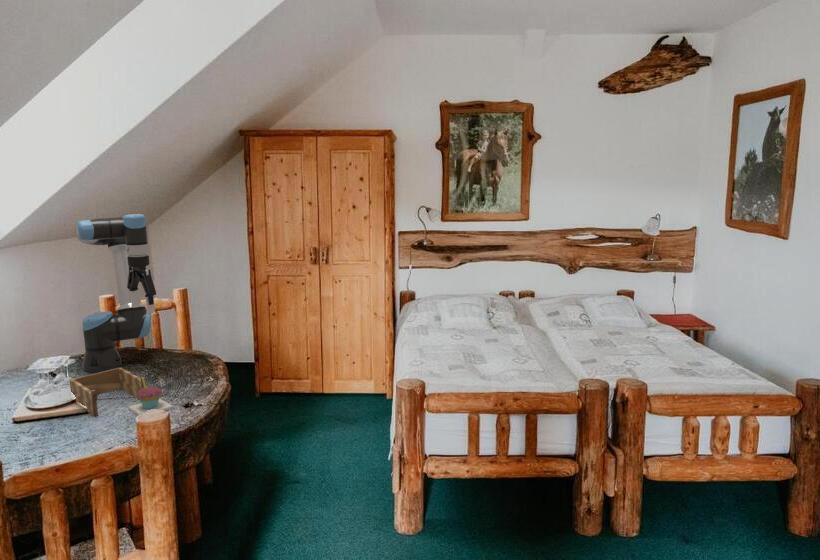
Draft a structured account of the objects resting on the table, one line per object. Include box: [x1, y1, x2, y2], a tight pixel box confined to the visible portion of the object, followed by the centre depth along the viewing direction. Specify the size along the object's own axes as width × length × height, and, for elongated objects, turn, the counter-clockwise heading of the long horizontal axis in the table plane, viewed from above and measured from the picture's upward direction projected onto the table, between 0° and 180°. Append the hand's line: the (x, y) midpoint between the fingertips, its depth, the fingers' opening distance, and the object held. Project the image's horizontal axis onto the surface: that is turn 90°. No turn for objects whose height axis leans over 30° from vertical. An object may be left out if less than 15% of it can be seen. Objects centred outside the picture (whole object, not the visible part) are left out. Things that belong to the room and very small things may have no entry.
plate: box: [128, 397, 174, 416], centre depth 216 cm, size 11×11×1 cm
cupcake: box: [135, 375, 163, 409], centre depth 215 cm, size 9×8×12 cm
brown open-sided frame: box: [69, 366, 147, 418], centre depth 223 cm, size 22×18×9 cm
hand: (143, 310), depth 233 cm, fingers open, 13 cm apart
